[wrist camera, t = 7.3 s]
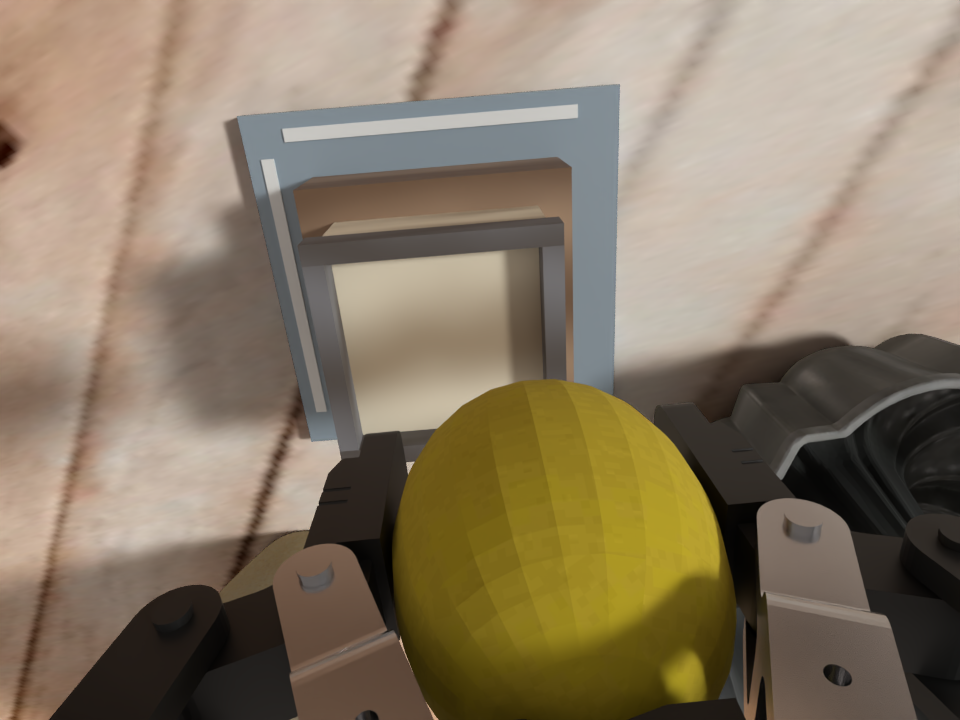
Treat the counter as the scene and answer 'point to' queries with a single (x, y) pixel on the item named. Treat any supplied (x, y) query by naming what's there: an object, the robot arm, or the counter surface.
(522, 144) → the board
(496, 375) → the block tower
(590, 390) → the lemon
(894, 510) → the bundt pan
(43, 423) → the counter surface
